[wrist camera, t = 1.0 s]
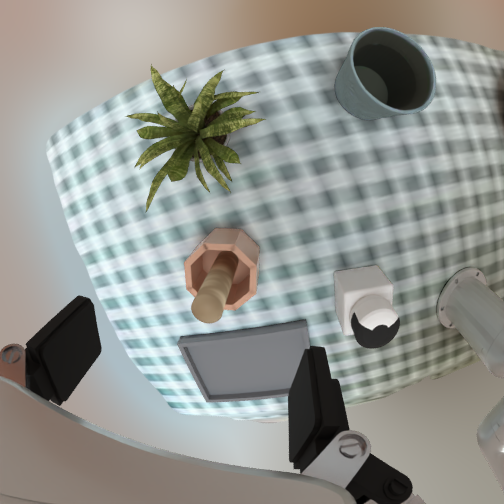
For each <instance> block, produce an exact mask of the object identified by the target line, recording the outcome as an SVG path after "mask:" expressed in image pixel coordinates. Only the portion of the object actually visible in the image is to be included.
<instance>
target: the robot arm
mask: <svg viewBox="0 0 504 504" xmlns="http://www.w3.org/2000/svg"><path fill="white" fill-rule="evenodd" d="M437 316H438V319H439V321H440V322H441V323H442V324H443V325H444V326H445V327H447V328H451V329H452V328H456V329H457V330H458V331H459V332H460V334H461V335H462V336H463V337H464V338H465V340H466V341H467V342H468V343H469V345H470V346H471V347H472V349H473V350H474V351H475V352H476V354H477V355H478V356H479V358H480V359H481V360H482V361H483V363H484V364H485V366H486V367H487V369H488V370H489V371H490V372H491V373H492V374H493V375H494V376H496V377H499V378H504V301H503V300H502V299H501V298H500V297H499V296H498V295H496V294H495V293H494V292H493V291H492V290H490V289H489V288H488V287H487V282H486V278H485V276H484V274H483V273H482V272H481V271H480V270H478V269H476V268H473V267H469V268H465V269H463V270H461V271H459V272H458V273H456V274H455V275H454V276H453V277H452V278H451V279H450V280H449V281H448V283H447V284H446V286H445V287H444V289H443V291H442V293H441V295H440V297H439V300H438V305H437ZM26 346H27V348H26V349H24V348H23V347H22V346H21V345H19V344H9V345H7V346H5V347H4V348H3V349H2V350H1V351H0V504H426V503H425V502H424V501H423V500H422V499H421V498H420V497H419V496H418V495H416V496H414V495H413V494H412V488H413V487H412V483H411V481H410V479H409V478H408V477H407V476H406V475H404V474H402V473H400V472H399V471H398V470H396V469H394V468H392V467H391V466H389V465H388V464H386V463H385V462H383V461H382V460H380V459H378V458H377V457H375V456H374V455H372V454H371V453H370V452H371V444H370V441H369V440H368V438H367V437H366V436H365V435H363V434H362V433H360V432H357V431H352V430H349V425H348V420H347V415H346V411H345V406H344V401H343V397H342V392H341V388H340V383H339V381H338V380H337V379H331V374H330V369H329V365H328V360H327V355H326V351H325V348H324V347H317V346H310V348H309V349H305V350H304V353H303V356H302V358H301V361H300V364H299V367H298V369H297V372H296V375H295V377H294V380H293V382H292V385H291V387H290V390H289V394H288V415H289V461H290V462H293V463H294V469H300V473H301V474H296V473H289V472H281V471H272V470H264V469H256V468H248V467H241V466H235V465H229V464H223V463H217V462H212V461H207V460H202V459H198V458H193V457H189V456H185V455H181V454H177V453H173V452H169V451H166V450H163V449H159V448H156V447H152V446H150V445H146V444H143V443H141V442H137V441H135V440H132V439H129V438H127V437H124V436H121V435H118V434H116V433H114V432H111V431H109V430H106V429H104V428H102V427H99V426H97V425H94V424H92V423H90V422H88V421H86V420H84V419H82V418H80V417H78V416H75V415H73V414H72V413H69V412H68V411H66V410H64V409H62V408H60V407H58V406H56V405H54V404H53V403H51V402H49V400H50V399H51V401H52V402H54V403H56V404H57V405H59V406H60V405H61V404H62V402H63V401H66V400H67V399H68V398H69V396H70V395H71V394H72V392H73V391H74V389H75V388H76V386H77V385H78V384H79V382H80V381H81V379H82V378H83V377H84V375H85V374H86V372H87V371H88V370H89V368H90V367H91V366H92V364H93V363H94V362H95V360H96V359H97V358H98V356H99V355H100V353H101V343H100V338H99V333H98V328H97V322H96V316H95V311H94V305H93V303H92V302H91V300H90V299H89V298H86V297H83V296H77V297H76V298H75V299H74V300H73V301H71V302H70V303H69V304H68V305H67V306H66V307H65V308H64V309H63V310H61V311H60V312H59V313H58V314H57V315H56V316H55V317H54V318H52V319H51V320H50V321H49V322H48V323H47V324H46V325H45V326H44V327H43V328H42V329H41V330H39V332H37V333H36V334H35V335H34V336H33V337H32V338H31V339H30V340H29V341H28V342H27V343H26ZM477 441H478V445H479V447H480V449H481V452H482V453H483V455H484V457H485V459H486V461H487V462H488V464H489V466H490V468H491V469H492V471H493V473H494V475H495V477H496V479H497V481H498V482H499V484H500V487H501V489H502V491H503V493H504V397H503V398H502V399H501V400H500V401H499V402H498V403H497V405H496V406H495V407H494V408H493V409H492V410H491V411H490V412H489V413H488V414H487V416H486V417H485V418H484V419H483V420H482V422H481V423H480V425H479V427H478V430H477Z"/></svg>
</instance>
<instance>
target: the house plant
mask: <svg viewBox="0 0 504 504" xmlns="http://www.w3.org/2000/svg"><path fill="white" fill-rule="evenodd" d="M223 71H224V70H223ZM223 71H221V72H219V73H218V74H216V75H215V76H214V77H212V78H211V79H210V80H209V81H208V82H207V84H206V85H205V86H204V87H203V89H202V91H201V92H200V94H199V96H198V98H197V99H196V101H195V103H194V105H191V106H189V107H188V106H187V104H186V102H185V100H184V98H183V97H182V95H181V93H182V91H183V89H184V86H185V84H186V81H187V79H186V81H185V83H184V85H183V87H182V88H181V90H180V92H178V91H177V90H176V89H175V87H174V85H173V87H172V86H171V85H170V84H168V83H167V82H166V81H164V80H163V79H162V77H161V76H160V74H159V73H158V71H157V70H156V69H154V68H153V67H152V66H151V75H152V81H153V83H154V86H155V89H156V91H157V93H158V95H159V97H160V98H161V100H162V103H163V105H164V107H165V108H166V110H167V111H168V112H170V113H171V114H172V115H173V116H174V117H175V118H176V119H175V120H172V119H169V118H166V117H164V116H162V115H160V114H159V113H158V115H157V114H151V113H139V114H133V115H128V116H127V117H130V118H135V119H140V120H142V121H145V122H153V123H157V124H160V125H163V126H165V127H157V126H147V127H144V128H141V129H139V130H136V131H137V133H138V134H139V136H140V137H141V138H143V139H155V138H161V137H167V138H165V139H163V140H161V141H159V142H156V143H154V144H153V145H151V146H150V147H149V148H148V149H147V150H146V151H145V152H144V153H143V154H142V155H141V156H140V158H139V160H138V162H137V163H136V165H135V167H136V166H138V165H140V164H141V166H140V168H141V167H142V166H144V165H145V164H146V163H148V162H149V161H151V160H152V159H154V158H156V157H157V156H159V155H161V154H162V153H164V152H166V151H169V150H171V149H174V148H175V151H174V153H173V155H172V156H171V158H170V159H169V160H168V161H167V162H166V164H165V165H164V166H163V167H162V168H161V170H160V171H159V172H158V173H157V175H156V176H155V178H154V179H153V181H152V185H151V188H150V192H149V196H148V199H147V203H146V212H147V210H148V208H149V206H150V204H151V202H152V200H153V197H154V195H155V193H156V191H157V189H158V188H159V186H160V184H161V182H162V181H163V179H164V178H165V176H166V175H167V174H168V176H169V178H170V180H171V182H173V181H179V180H182V179H183V178H184V177H185V176H186V174H187V171H188V167H189V162H190V161H195V170H196V175H197V177H198V179H199V180H200V182H201V183H202V184H203V186H204V187H205V189H206V190H208V191H209V189H208V187H207V184H206V182H205V180H204V178H203V175H202V173H201V169H200V165H199V162H203V164H204V166H205V168H206V170H207V171H208V172H209V173H210V174H211V175H212V176H213V177H214V178H215V179H216V180H217V181H218V182H219V183H220V184H221V185H222V187H224V188H225V189H227V190H228V191H230V189H229V188H228V186H227V184H226V183H225V181H224V179H223V177H222V176H221V174H220V173H219V171H218V169H217V168H216V166H215V164H214V162H213V160H212V158H214V160H215V162H216V164H217V166H218V168H219V169H220V170H221V171H222V172H223V173H224V175H225V176H226V177H227V179H229V180H230V181H232V179H231V177H230V175H229V172H228V170H227V168H226V166H225V164H224V161H226V162H229V163H239V164H241V163H240V160H239V157H238V155H237V153H236V152H235V151H234V150H232V149H231V148H229V147H227V146H226V145H227V144H228V142H229V138H230V133H232V132H234V131H236V130H238V129H240V128H243V127H247V126H249V125H253V124H256V123H258V122H260V121H262V120H266V119H253V118H249V119H242V118H243V117H244V116H245V115H248V114H251V113H253V112H255V111H249V110H246V109H244V108H241V107H234V108H231V109H229V110H227V111H225V112H224V113H223V112H222V111H221V109H222V108H225V107H227V106H229V105H232V104H234V103H236V102H237V101H238V100H239V99H240V98H241V97H242V96H245V95H250V94H255V93H259V92H226V93H221V94H217V95H214V94H215V88H216V86H217V84H218V83H219V81H220V79H221V75H222V72H223ZM217 99H218V100H217ZM214 100H216V101H215V102H214V103H213V101H214ZM125 117H126V116H125ZM223 160H224V161H223ZM139 170H140V169H139ZM209 192H210V191H209ZM230 193H231V192H230Z"/></svg>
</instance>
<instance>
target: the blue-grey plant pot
mask: <svg viewBox="0 0 504 504" xmlns="http://www.w3.org/2000/svg"><path fill="white" fill-rule="evenodd" d="M435 91H436V75H435V71H434V68H433V65H432V63H431V61H430V59H429V57H428V56H427V54H426V53H425V51H424V50H423V49H422V48H421V47H420V46H419V45H418V44H417V43H416V42H415V41H414V40H413V39H411V38H410V37H408V36H407V35H405V34H403V33H401V32H399V31H396V30H393V29H390V28H385V27H383V28H382V27H376V28H370V29H367V30H365V31H363V32H361V33H360V34H359V35H358V36H357V37H356V38H355V39H354V40H353V42H352V45H351V47H350V49H349V52H348V55H347V58H346V59H345V61H344V63H343V65H342V68H341V69H340V71H339V73H338V75H337V78H336V80H335V93H336V97H337V99H338V100H339V103H340V104H341V105H342V106H343V108H344V109H345V110H346V111H348V112H349V113H350V114H352V115H353V116H355V117H357V118H360V119H364V120H374V119H379V118H386V117H392V116H398V115H406V114H414V113H418V112H420V111H422V110H424V109H425V108H426V107H427V106H428V105H429V104H430V103H431V101H432V100H433V98H434V95H435Z"/></svg>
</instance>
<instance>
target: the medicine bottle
mask: <svg viewBox="0 0 504 504" xmlns="http://www.w3.org/2000/svg"><path fill="white" fill-rule="evenodd" d="M334 283H335V310H336V313H337V316H338V319H339V322H340V325H341V328H342V331H343V334H344V335H345V336H348V335H353V334H354V335H355V338H356V340H357V342H358V343H359V344H360V345H361V346H363V347H365V348H379V347H382V346H384V345H386V344H387V343H389V342H390V341H391V340H392V339H393V338H394V337H395V335H396V334H397V332H398V329H399V326H400V320H399V316H398V315H397V313H396V312H395V310H394V309H393V307H392V300H393V284H392V283H391V282H390V280H389V279H388V278H387V277H386V275H385V274H384V273H383V272H382V271H381V269H380V268H379V267H378V266H377V265H374V266H368V267H361V268H355V269H348V270H341V271H335V272H334Z"/></svg>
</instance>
